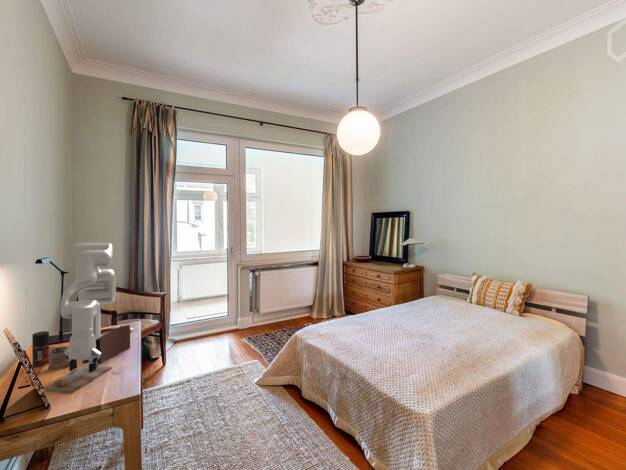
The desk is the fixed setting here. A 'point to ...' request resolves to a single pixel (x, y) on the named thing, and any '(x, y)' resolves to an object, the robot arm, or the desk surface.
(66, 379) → the tongs arm
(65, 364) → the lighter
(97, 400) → the desk surface
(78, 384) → the board
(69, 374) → the tongs fixed
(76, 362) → the robot arm
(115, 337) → the letter holder
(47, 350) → the deodorant
